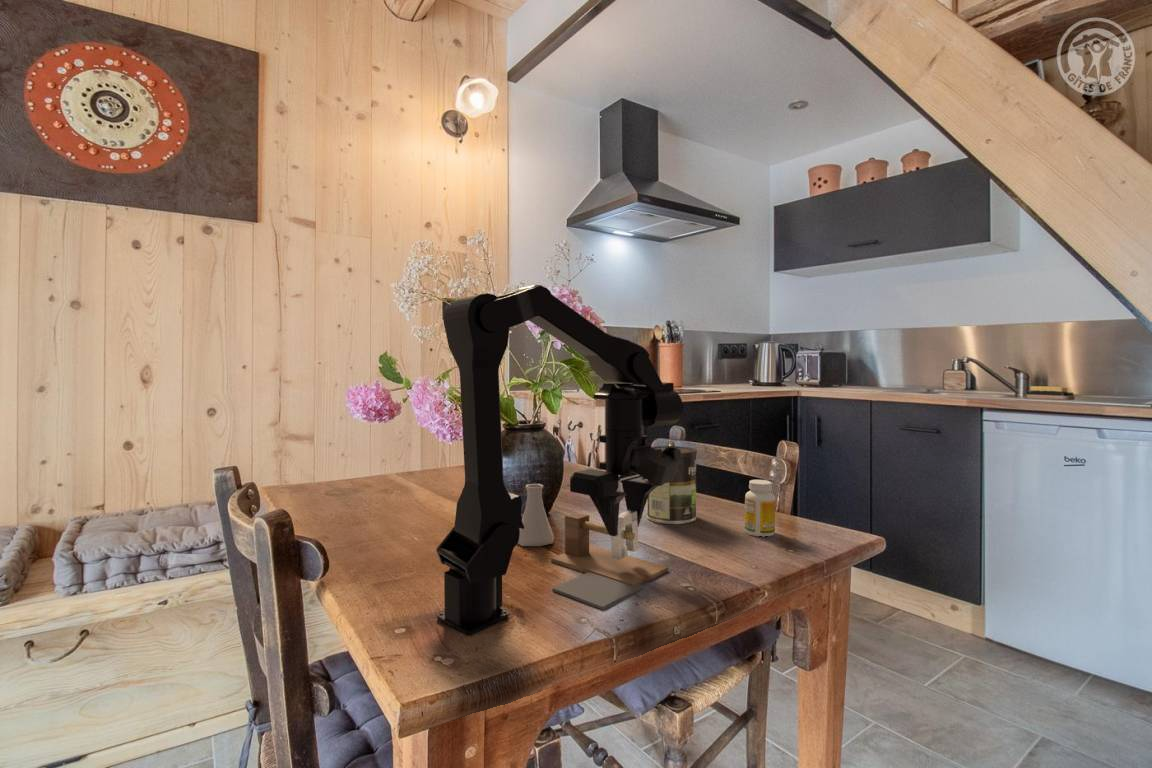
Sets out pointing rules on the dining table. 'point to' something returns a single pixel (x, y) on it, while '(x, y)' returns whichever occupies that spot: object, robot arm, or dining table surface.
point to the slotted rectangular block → (617, 541)
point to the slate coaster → (596, 590)
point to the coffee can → (675, 493)
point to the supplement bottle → (760, 509)
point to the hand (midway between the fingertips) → (624, 531)
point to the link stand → (602, 554)
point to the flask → (535, 520)
